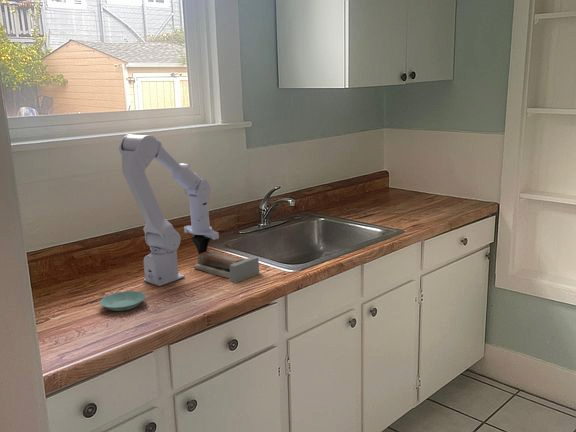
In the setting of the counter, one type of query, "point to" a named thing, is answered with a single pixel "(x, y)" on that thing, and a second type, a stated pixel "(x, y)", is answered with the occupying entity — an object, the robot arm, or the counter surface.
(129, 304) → the saucer
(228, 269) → the packaged product
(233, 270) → the board
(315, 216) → the counter surface
